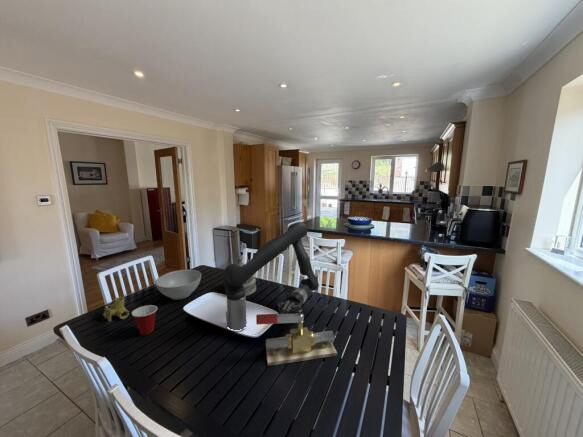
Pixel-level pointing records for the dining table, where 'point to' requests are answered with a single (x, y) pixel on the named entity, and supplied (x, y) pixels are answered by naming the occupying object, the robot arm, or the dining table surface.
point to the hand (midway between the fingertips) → (281, 317)
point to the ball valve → (116, 309)
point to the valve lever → (279, 318)
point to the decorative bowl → (178, 283)
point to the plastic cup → (145, 318)
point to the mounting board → (287, 356)
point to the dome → (248, 281)
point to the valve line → (299, 340)
